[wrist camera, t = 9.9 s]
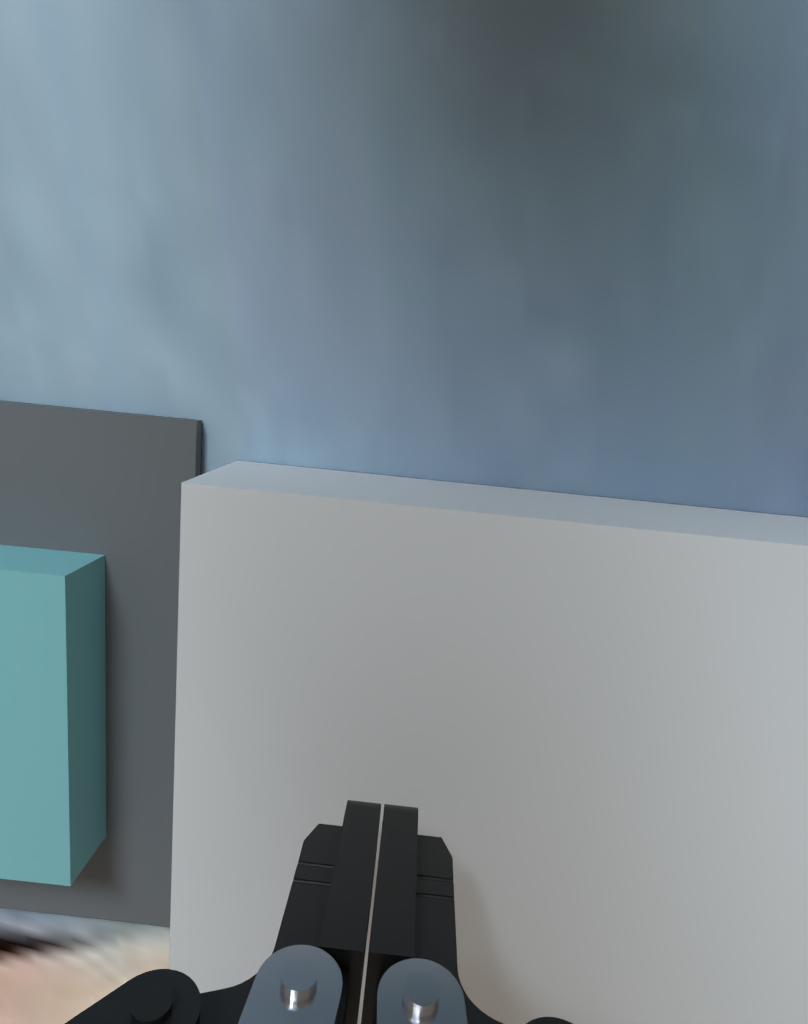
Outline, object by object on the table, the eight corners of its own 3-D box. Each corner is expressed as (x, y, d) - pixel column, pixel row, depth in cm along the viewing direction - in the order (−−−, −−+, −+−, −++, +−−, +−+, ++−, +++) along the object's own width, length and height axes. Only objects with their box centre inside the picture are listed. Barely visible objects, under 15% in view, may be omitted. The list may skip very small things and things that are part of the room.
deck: (236, 460, 18) (181, 482, 14) (971, 534, 17) (1131, 578, 13) (218, 895, 20) (167, 1016, 16) (849, 967, 20) (952, 1109, 16)
